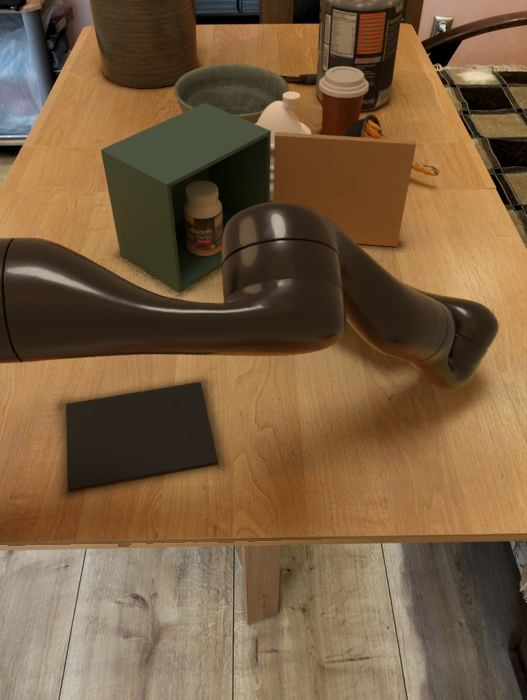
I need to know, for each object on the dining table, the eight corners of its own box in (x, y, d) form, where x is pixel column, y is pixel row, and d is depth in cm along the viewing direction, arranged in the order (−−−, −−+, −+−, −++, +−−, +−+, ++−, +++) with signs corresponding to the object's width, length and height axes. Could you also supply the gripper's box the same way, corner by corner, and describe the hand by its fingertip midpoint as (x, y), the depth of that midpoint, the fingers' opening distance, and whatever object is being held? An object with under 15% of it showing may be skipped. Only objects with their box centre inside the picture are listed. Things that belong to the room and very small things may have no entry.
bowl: (250, 104, 133) (249, 55, 126) (308, 146, 121) (311, 93, 114) (160, 129, 125) (154, 77, 118) (212, 176, 113) (209, 122, 106)
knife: (212, 76, 146) (209, 83, 142) (212, 68, 145) (208, 75, 141) (336, 77, 144) (336, 85, 140) (336, 69, 143) (337, 76, 139)
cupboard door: (276, 215, 104) (279, 115, 92) (396, 224, 103) (414, 123, 91) (272, 237, 100) (274, 135, 88) (397, 246, 98) (416, 144, 86)
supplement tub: (349, 76, 144) (362, -57, 126) (404, 99, 136) (427, -40, 117) (299, 96, 136) (305, -43, 118) (354, 121, 128) (370, -23, 110)
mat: (68, 492, 68) (67, 489, 67) (66, 406, 76) (65, 403, 75) (218, 464, 70) (217, 461, 70) (200, 384, 78) (200, 381, 78)
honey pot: (324, 187, 111) (332, 82, 98) (301, 227, 102) (307, 118, 89) (254, 173, 114) (253, 70, 101) (226, 211, 105) (222, 104, 92)
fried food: (353, 117, 119) (449, 107, 109) (355, 179, 122) (449, 174, 112) (330, 116, 112) (431, 105, 102) (333, 182, 115) (431, 176, 105)
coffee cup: (344, 152, 119) (350, 88, 111) (305, 137, 123) (309, 74, 115) (371, 135, 124) (380, 72, 116) (333, 121, 128) (339, 59, 120)
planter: (194, 90, 138) (187, -13, 124) (92, 89, 138) (72, -15, 124) (203, 51, 154) (198, -45, 139) (111, 50, 154) (96, -46, 140)
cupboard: (269, 234, 101) (270, 130, 89) (179, 292, 91) (166, 184, 78) (211, 203, 107) (205, 102, 95) (120, 255, 97) (100, 149, 85)
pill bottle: (181, 254, 96) (175, 196, 89) (193, 233, 100) (188, 175, 93) (217, 260, 95) (214, 202, 88) (228, 238, 99) (226, 181, 92)
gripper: (376, 233, 82) (280, 187, 90) (305, 285, 75) (207, 231, 82) (369, 279, 87) (279, 232, 95) (302, 332, 80) (210, 277, 88)
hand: (246, 231), depth 89 cm, fingers open, 8 cm apart
